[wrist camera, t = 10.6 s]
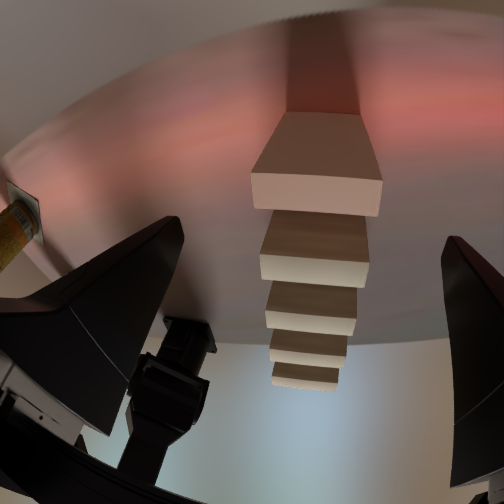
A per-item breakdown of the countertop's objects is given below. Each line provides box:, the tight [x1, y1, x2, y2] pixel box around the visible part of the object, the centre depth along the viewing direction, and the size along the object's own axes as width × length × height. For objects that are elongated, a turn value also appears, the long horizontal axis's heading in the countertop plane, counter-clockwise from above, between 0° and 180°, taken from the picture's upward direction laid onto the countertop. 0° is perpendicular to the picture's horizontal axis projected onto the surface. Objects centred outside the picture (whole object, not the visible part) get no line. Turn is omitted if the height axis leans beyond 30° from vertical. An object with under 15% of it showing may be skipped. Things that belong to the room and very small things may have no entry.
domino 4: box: [269, 328, 347, 368], centre depth 23 cm, size 2×5×10 cm, turn 96°
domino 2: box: [259, 209, 370, 288], centre depth 18 cm, size 2×5×10 cm, turn 96°
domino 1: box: [251, 111, 383, 217], centre depth 15 cm, size 2×5×10 cm, turn 96°
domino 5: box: [272, 361, 339, 392], centre depth 25 cm, size 2×5×10 cm, turn 96°
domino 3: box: [265, 280, 357, 336], centre depth 20 cm, size 2×5×10 cm, turn 96°
